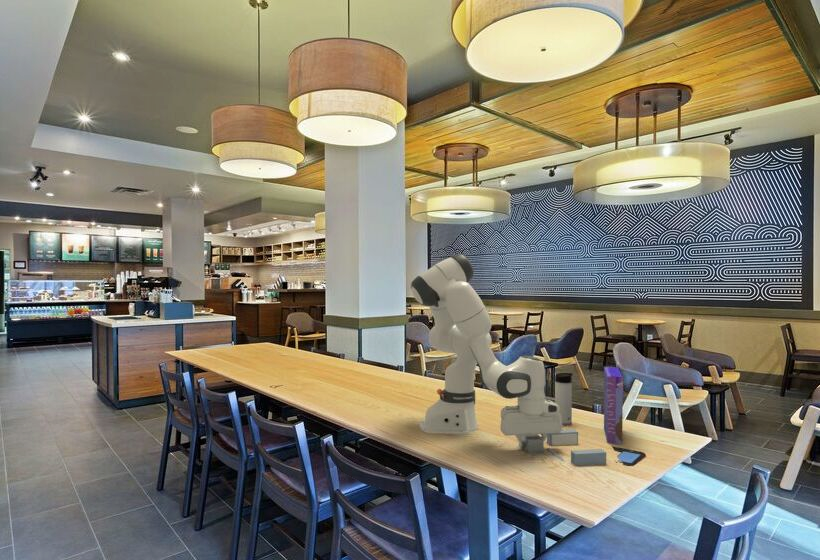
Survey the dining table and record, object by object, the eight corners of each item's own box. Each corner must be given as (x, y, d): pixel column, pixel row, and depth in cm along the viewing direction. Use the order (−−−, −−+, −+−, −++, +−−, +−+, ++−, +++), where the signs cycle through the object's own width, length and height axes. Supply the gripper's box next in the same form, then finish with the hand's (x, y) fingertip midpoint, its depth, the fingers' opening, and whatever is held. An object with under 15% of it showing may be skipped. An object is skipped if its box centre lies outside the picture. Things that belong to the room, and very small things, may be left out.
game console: (607, 448, 151) (607, 442, 151) (648, 459, 142) (648, 452, 142) (589, 461, 141) (589, 454, 141) (631, 474, 132) (631, 466, 132)
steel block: (528, 458, 142) (528, 440, 142) (519, 448, 150) (519, 431, 150) (543, 457, 143) (543, 439, 143) (533, 448, 151) (533, 430, 151)
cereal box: (622, 446, 152) (622, 376, 151) (607, 444, 153) (607, 375, 153) (617, 429, 168) (617, 366, 168) (603, 428, 170) (604, 365, 169)
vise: (567, 471, 133) (567, 454, 133) (547, 452, 147) (547, 437, 147) (606, 468, 135) (606, 452, 135) (582, 450, 149) (582, 435, 149)
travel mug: (573, 426, 172) (573, 375, 171) (555, 425, 173) (556, 374, 173) (571, 421, 178) (571, 371, 177) (554, 420, 179) (554, 371, 179)
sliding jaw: (550, 448, 150) (550, 433, 150) (541, 440, 157) (541, 426, 157) (578, 446, 151) (578, 432, 151) (568, 439, 158) (568, 425, 158)
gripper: (504, 409, 142) (503, 452, 142) (564, 406, 144) (564, 448, 145) (497, 403, 148) (497, 444, 148) (555, 401, 151) (555, 441, 151)
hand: (531, 446), depth 146 cm, fingers closed on steel block, 5 cm apart
